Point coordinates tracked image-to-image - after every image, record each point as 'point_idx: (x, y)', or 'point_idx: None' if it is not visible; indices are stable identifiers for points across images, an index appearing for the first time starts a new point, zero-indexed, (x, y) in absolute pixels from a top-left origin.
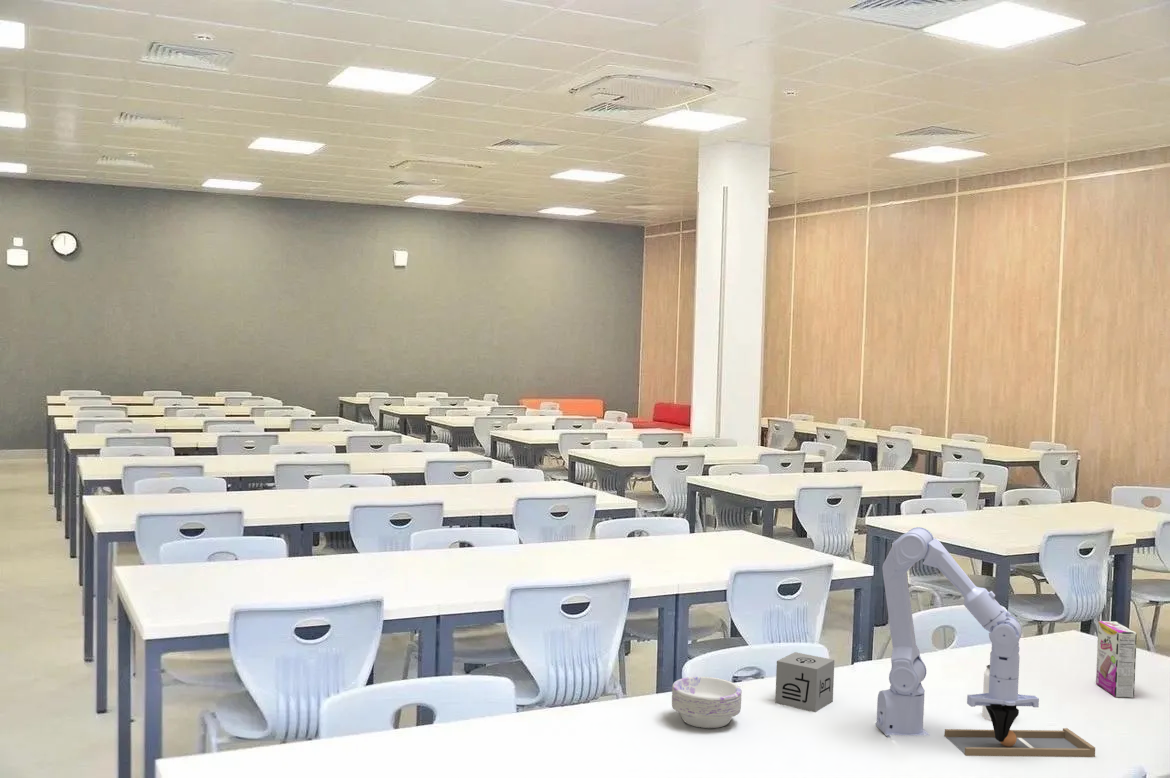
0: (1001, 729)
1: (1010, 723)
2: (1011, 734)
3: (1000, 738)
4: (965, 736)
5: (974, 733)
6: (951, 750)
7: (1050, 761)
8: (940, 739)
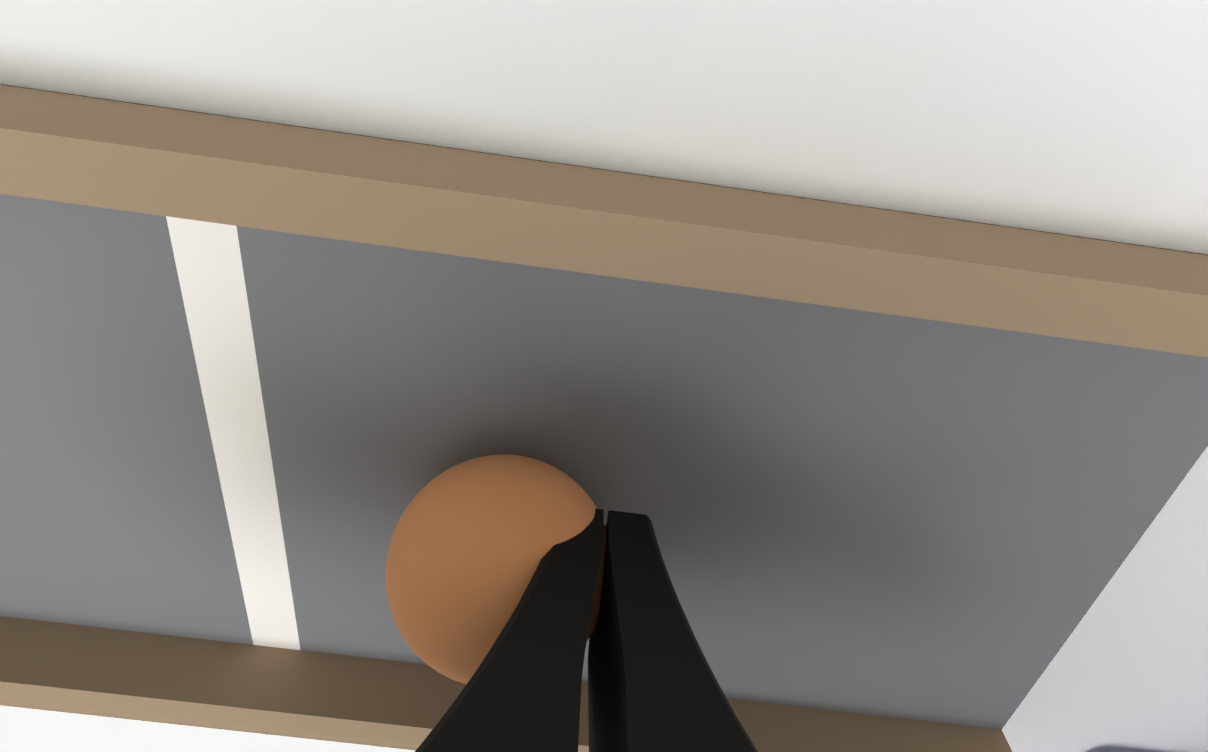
0: (653, 641)
1: (486, 721)
2: (474, 565)
3: (648, 536)
4: (815, 714)
5: None
6: (1193, 504)
7: (111, 10)
8: (1026, 714)
